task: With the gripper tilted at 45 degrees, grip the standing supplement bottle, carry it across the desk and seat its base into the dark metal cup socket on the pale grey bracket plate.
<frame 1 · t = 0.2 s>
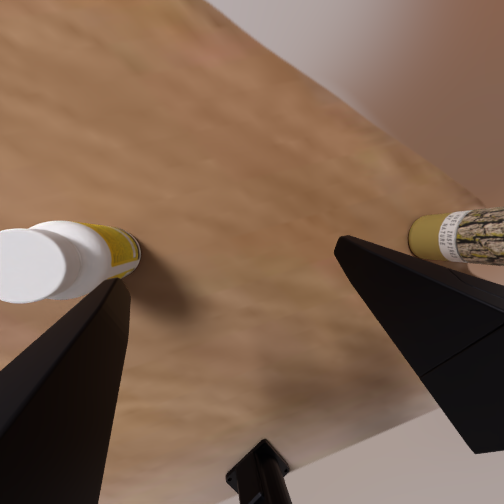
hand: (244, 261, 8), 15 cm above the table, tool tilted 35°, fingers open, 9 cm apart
supplement bottle: (113, 253, 19), on the table
bark textured cylinder: (420, 237, 30), on the table
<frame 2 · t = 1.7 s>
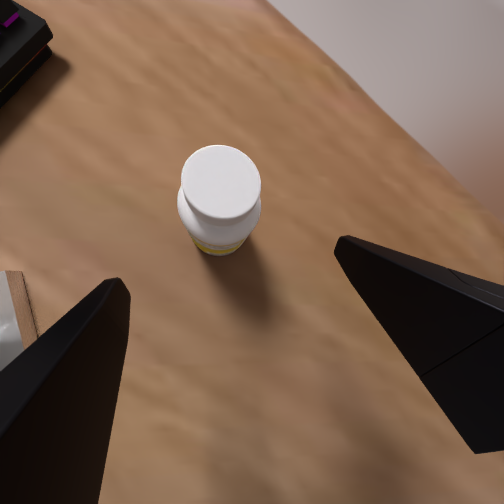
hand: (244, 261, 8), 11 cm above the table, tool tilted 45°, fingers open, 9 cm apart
supplement bottle: (218, 230, 19), on the table
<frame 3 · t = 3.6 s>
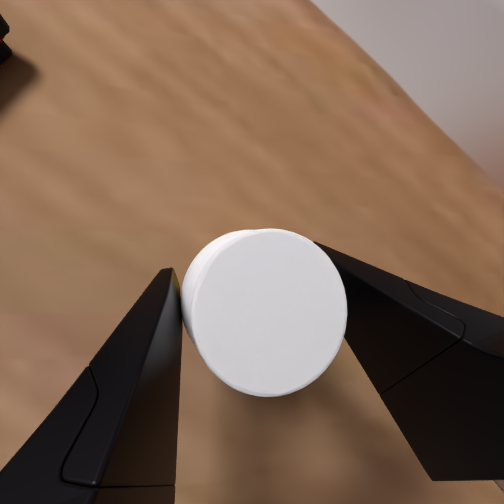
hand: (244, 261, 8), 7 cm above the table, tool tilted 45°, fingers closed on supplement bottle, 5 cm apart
supplement bottle: (233, 286, 14), on the table, touching gripper
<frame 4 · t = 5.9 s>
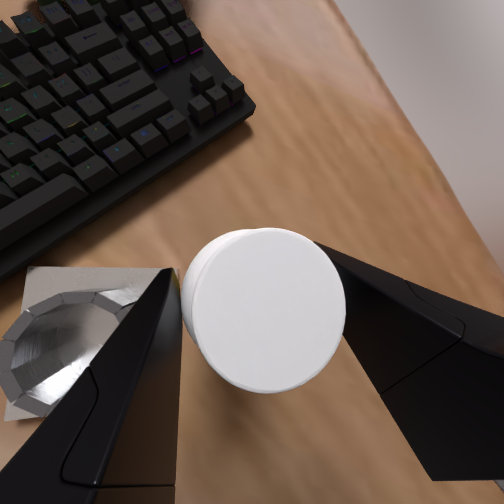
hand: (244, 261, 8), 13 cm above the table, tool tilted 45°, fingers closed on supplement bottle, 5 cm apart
supplement bottle: (233, 286, 14), point 6 cm above the table, touching gripper
keyboard: (47, 166, 19), on the table
cup bracket: (108, 331, 17), on the table
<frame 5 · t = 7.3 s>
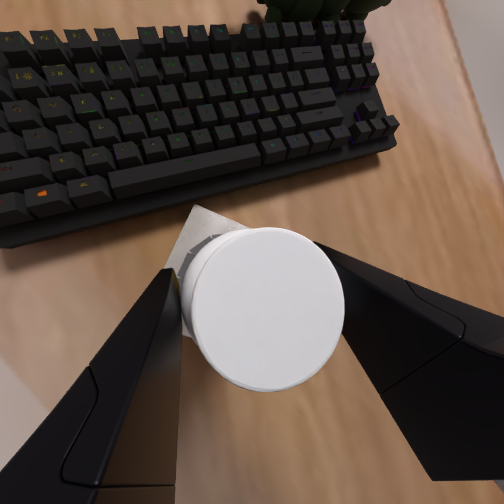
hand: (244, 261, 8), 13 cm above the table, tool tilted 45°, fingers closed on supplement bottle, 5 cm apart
toy figurine: (311, 24, 27), on the table
supplement bottle: (232, 285, 14), point 6 cm above the table, touching gripper
keyboard: (221, 132, 22), on the table
cup bracket: (226, 280, 20), on the table
when the fingers open (9 cm above the table, at t = 8.4 s): supplement bottle stays where it is, resting on cup bracket.
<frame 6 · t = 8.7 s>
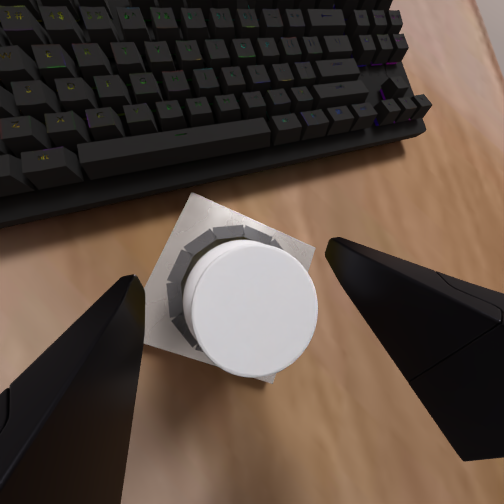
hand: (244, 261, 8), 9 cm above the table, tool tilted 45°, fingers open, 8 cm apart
supplement bottle: (231, 288, 15), point 1 cm above the table, touching cup bracket
keyboard: (223, 111, 19), on the table
cup bracket: (230, 285, 16), on the table
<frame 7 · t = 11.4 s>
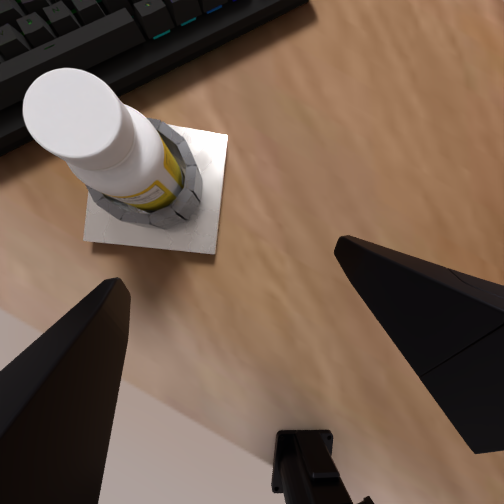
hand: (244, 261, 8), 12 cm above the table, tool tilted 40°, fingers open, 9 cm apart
supplement bottle: (160, 188, 18), point 1 cm above the table, touching cup bracket
keyboard: (107, 23, 19), on the table
cup bracket: (162, 189, 19), on the table
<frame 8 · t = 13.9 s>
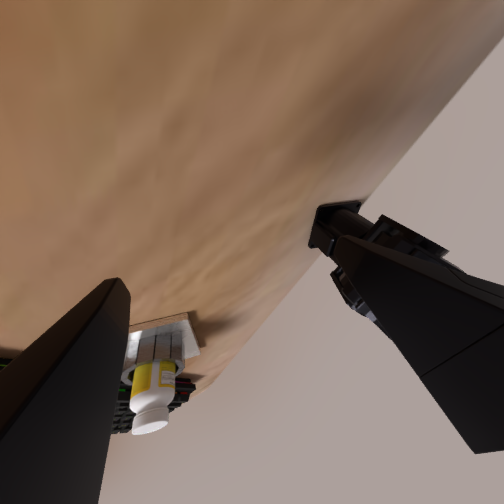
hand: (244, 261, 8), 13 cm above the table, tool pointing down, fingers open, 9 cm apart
supplement bottle: (157, 347, 30), point 1 cm above the table, touching cup bracket
keyboard: (70, 385, 32), on the table
cup bracket: (157, 342, 31), on the table
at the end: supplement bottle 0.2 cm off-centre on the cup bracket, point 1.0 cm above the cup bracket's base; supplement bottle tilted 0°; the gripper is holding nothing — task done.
